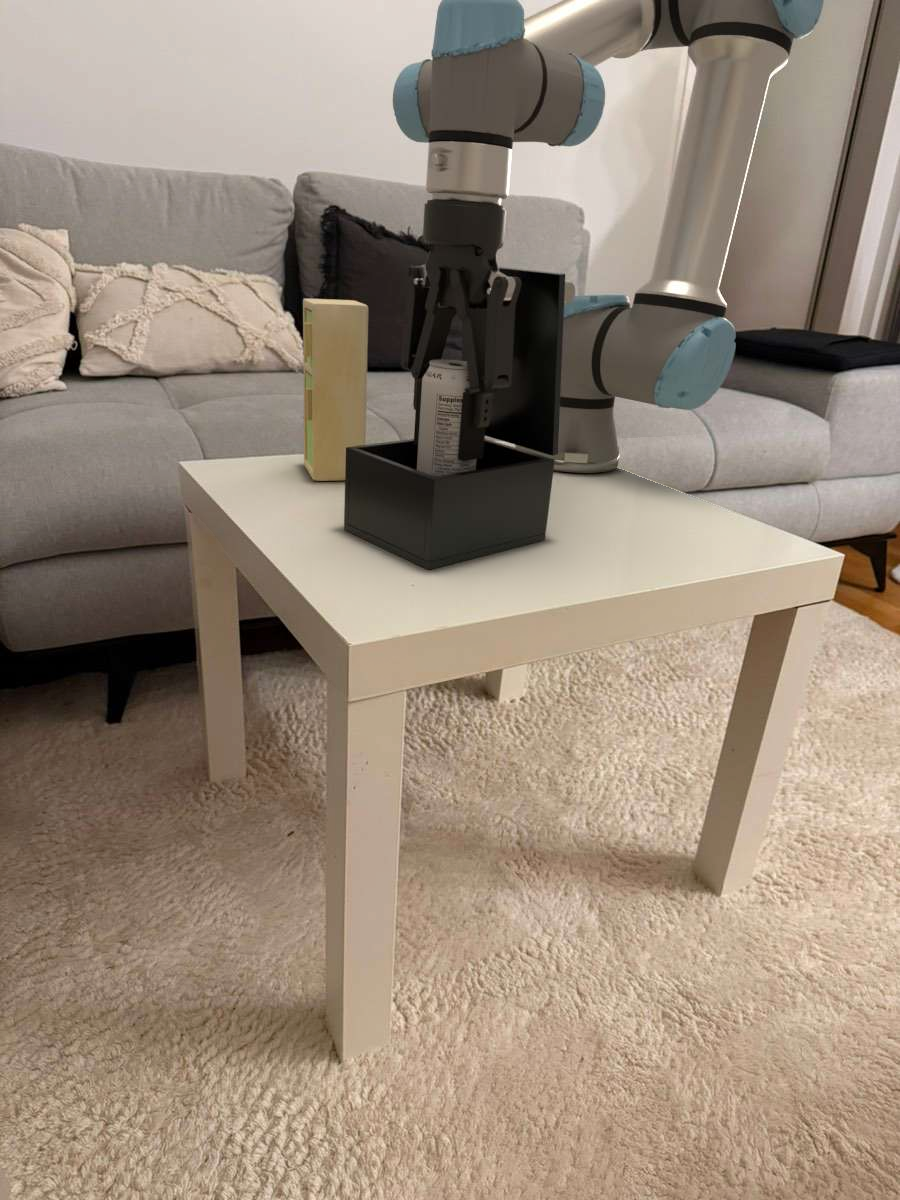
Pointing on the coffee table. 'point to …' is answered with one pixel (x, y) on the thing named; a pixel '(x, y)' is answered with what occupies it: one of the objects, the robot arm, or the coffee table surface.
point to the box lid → (533, 364)
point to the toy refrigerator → (333, 383)
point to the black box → (446, 502)
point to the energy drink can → (442, 418)
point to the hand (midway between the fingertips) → (447, 450)
